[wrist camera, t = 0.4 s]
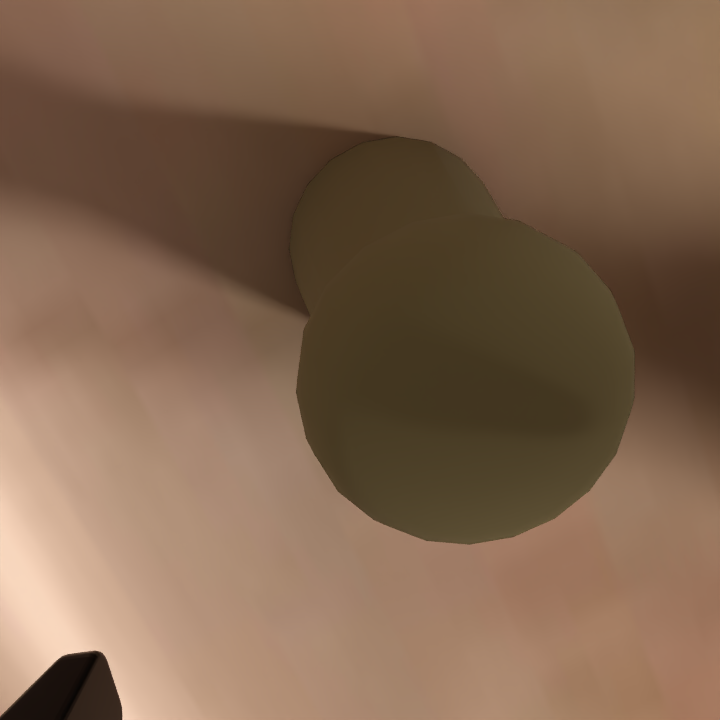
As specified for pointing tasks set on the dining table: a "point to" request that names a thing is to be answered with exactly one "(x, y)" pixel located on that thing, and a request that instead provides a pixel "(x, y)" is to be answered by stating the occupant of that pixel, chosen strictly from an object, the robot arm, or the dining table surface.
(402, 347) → the brown pawn
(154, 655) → the dining table surface
